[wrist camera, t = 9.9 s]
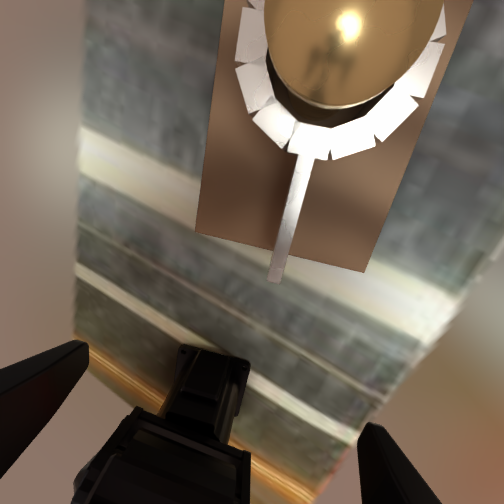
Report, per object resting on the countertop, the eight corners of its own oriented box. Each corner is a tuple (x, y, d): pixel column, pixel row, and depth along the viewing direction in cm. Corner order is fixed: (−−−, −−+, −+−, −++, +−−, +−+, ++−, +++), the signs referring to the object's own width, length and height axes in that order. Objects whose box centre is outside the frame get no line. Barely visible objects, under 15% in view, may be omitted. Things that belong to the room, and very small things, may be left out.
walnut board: (360, 267, 18) (363, 273, 18) (199, 228, 19) (194, 231, 18) (519, -140, 11) (540, -166, 10) (254, -177, 12) (251, -205, 11)
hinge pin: (348, 137, 15) (405, 116, 8) (270, 124, 15) (250, 90, 8) (375, 41, 13) (482, -108, 6) (287, 29, 14) (283, -127, 6)
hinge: (330, 263, 18) (345, 300, 13) (205, 232, 18) (175, 258, 14) (466, -130, 11) (595, -343, 6) (262, -160, 12) (241, -374, 7)
